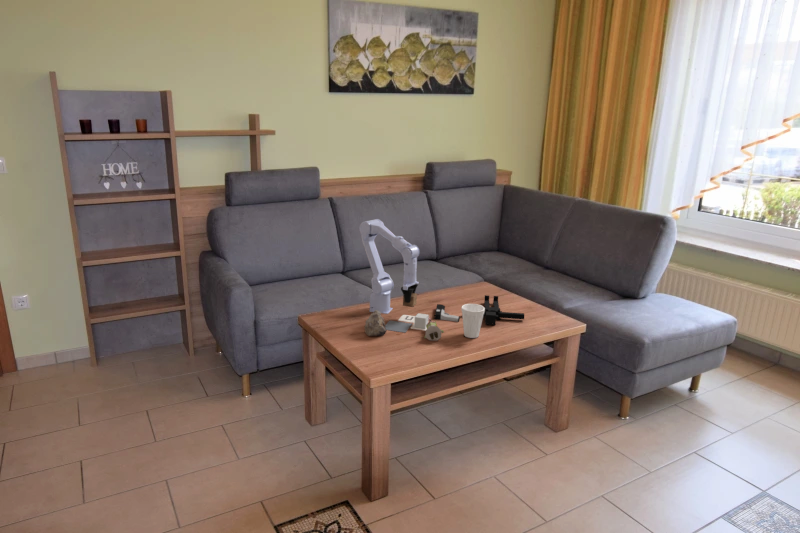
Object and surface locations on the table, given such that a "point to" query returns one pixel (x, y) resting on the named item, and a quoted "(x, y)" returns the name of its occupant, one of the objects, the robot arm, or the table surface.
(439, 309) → the toy gun
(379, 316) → the rock
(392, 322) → the slate mat
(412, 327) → the code tile
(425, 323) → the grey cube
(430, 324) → the figurine
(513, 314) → the toy
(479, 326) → the cup
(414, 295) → the walnut cube
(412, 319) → the code tile
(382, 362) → the table surface
